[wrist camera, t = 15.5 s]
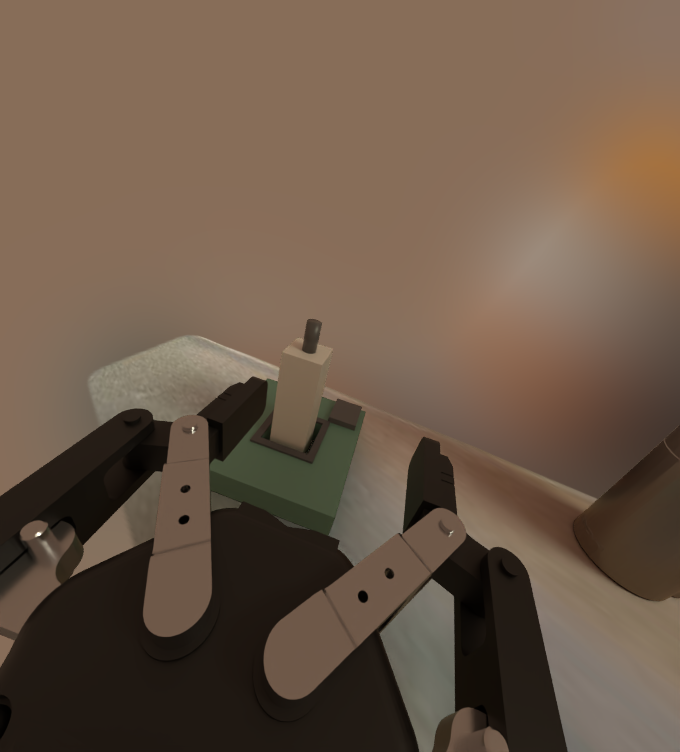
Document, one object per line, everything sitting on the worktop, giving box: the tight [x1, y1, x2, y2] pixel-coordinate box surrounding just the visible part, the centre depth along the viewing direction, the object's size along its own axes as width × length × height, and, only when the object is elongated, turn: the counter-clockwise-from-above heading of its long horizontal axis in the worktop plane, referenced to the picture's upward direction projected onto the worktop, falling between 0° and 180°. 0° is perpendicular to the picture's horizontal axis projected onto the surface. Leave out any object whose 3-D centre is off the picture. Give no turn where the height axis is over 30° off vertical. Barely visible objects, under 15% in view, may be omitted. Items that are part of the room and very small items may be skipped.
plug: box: [270, 319, 333, 453], centre depth 31 cm, size 4×4×17 cm
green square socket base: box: [210, 379, 365, 536], centre depth 34 cm, size 15×17×4 cm
